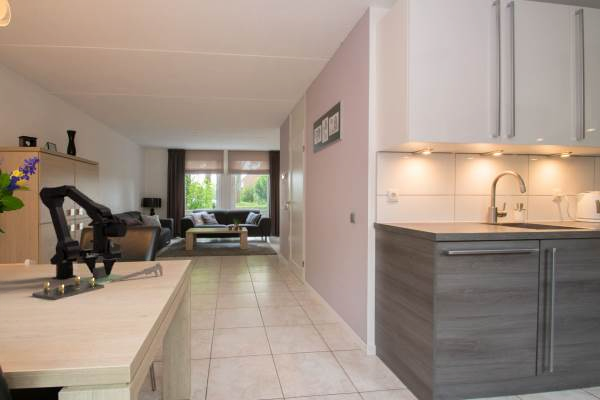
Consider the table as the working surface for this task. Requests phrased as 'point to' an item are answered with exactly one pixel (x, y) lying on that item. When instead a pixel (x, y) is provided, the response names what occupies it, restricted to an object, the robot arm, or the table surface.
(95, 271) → the board
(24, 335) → the table surface
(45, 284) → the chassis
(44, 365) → the table surface
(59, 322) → the table surface
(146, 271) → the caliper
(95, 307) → the table surface
